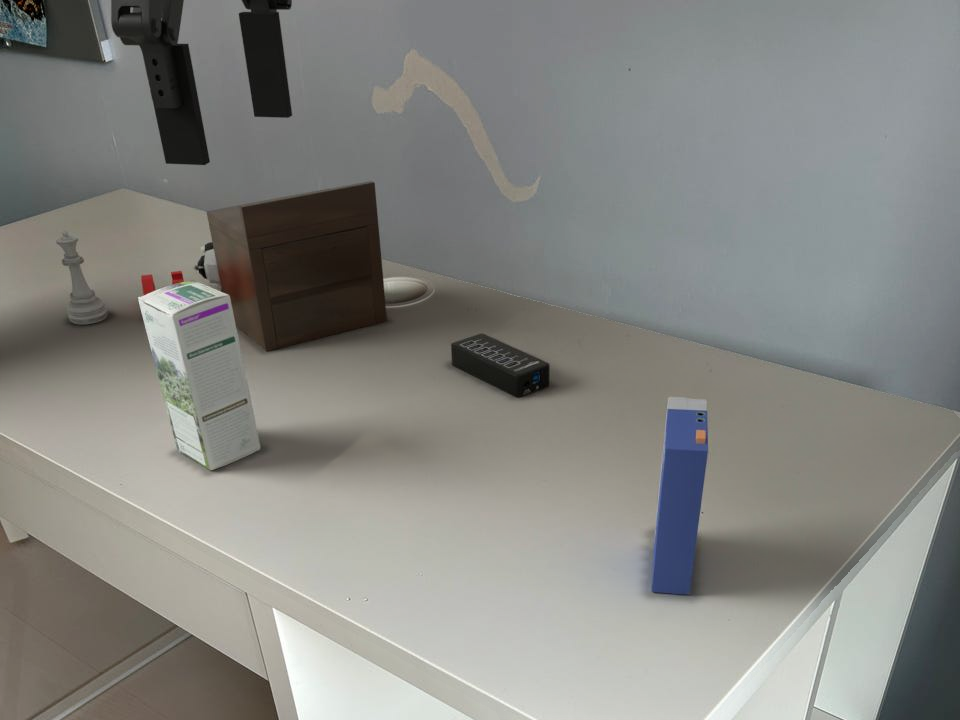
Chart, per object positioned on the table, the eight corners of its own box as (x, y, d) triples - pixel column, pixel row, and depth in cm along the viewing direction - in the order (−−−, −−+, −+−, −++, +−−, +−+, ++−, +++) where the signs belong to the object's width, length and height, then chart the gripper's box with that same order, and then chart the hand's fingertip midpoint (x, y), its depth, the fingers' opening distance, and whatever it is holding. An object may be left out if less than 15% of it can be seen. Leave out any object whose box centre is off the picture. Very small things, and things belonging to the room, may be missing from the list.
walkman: (690, 595, 71) (709, 445, 63) (650, 592, 71) (665, 443, 64) (690, 536, 77) (708, 392, 69) (654, 533, 77) (668, 391, 70)
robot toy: (202, 269, 132) (198, 300, 120) (195, 234, 129) (191, 261, 117) (293, 260, 134) (300, 290, 121) (288, 225, 131) (294, 251, 119)
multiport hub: (482, 352, 106) (481, 332, 104) (551, 385, 99) (551, 363, 97) (450, 364, 103) (449, 343, 102) (517, 398, 97) (517, 376, 95)
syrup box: (263, 449, 90) (234, 291, 81) (208, 473, 87) (171, 311, 78) (228, 430, 93) (196, 276, 84) (174, 453, 90) (134, 295, 81)
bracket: (147, 300, 121) (141, 275, 119) (186, 295, 122) (181, 270, 120) (148, 318, 116) (142, 293, 114) (189, 313, 117) (184, 288, 115)
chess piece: (116, 314, 118) (93, 227, 111) (89, 327, 115) (63, 238, 108) (89, 309, 119) (64, 223, 113) (61, 321, 116) (35, 234, 110)
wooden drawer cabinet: (226, 318, 116) (200, 182, 106) (341, 291, 122) (326, 160, 112) (266, 351, 108) (241, 207, 98) (387, 320, 114) (374, 182, 104)
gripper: (104, -315, 44) (201, 189, 57) (310, -272, 63) (347, 101, 76) (-41, -305, 45) (87, 184, 59) (203, -266, 64) (257, 99, 78)
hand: (234, 138), depth 68 cm, fingers open, 13 cm apart
